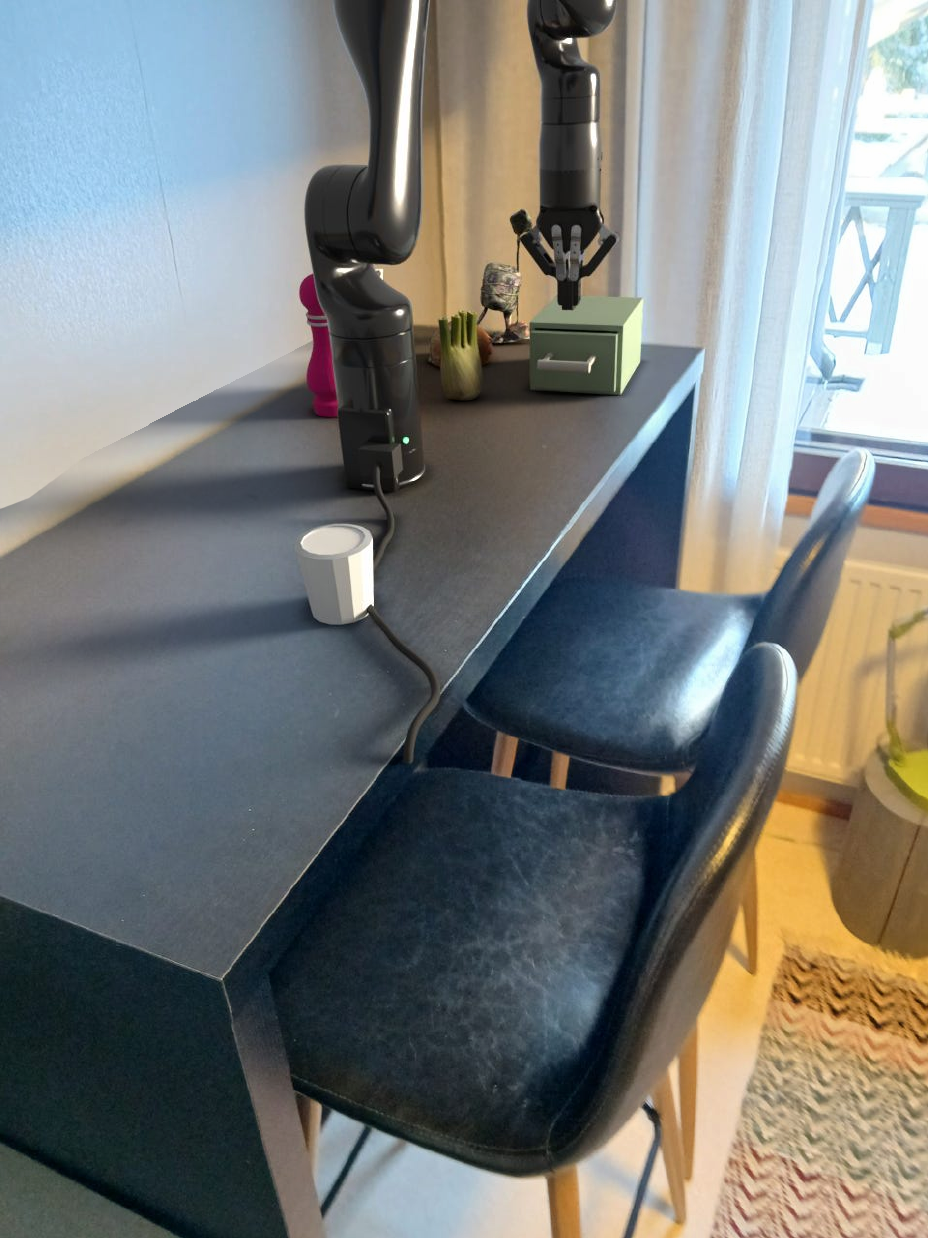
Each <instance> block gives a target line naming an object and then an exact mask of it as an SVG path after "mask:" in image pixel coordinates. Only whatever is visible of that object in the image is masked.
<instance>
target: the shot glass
mask: <svg viewBox="0 0 928 1238" xmlns="http://www.w3.org/2000/svg"><path fill="white" fill-rule="evenodd" d="M293 547H294V550H295V554H296V559H297V561H298V567H299V569H300V572H301V576H302V581H303V584H304V588H305V591H306V595H307V598H308V603H309V607H310V610H311V613H312V616H313V618H314V619H315V620H317V621H318V622H320V623H323V624H327V625H335V626H336V625H339V626H340V625H341V626H342V625H347V624H352V623H355V622H359V621H360V620H362V619H366V617H367V616H368V615H369V613H368V612H367V608H368V606H369V605H370V604H372V605H373V607H374V606H375V603H374V600H375V599H374V572H373V557H374V549H373V548H374V540H373V536H372V533H371V531H370V530H368V529H367V528H365V527H363V526H361V525H356V524H350V523H331V524H326V525H325V524H324V525H320V526H317V527H314V528H311V529H309V530H307V531H304V533H302V534H300V535H299V536H297V538H296V539H295V541H294V544H293Z"/></svg>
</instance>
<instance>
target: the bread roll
mask: <svg viewBox="0 0 928 1238" xmlns="http://www.w3.org/2000/svg"><path fill="white" fill-rule="evenodd" d="M448 327H449V335H450V341H451V320H450V321H448ZM493 343H494V342H493V339H492V336H490V335H489V334H488V333H487V332H486V331H485V330H484V328H482V327H481V326H480V325H477V345H478V350H479V354H480V359H481V366H484V365H486V364H488V363H490V362H491V360H492V357H493V354H494V348H493ZM429 351H430V354H429V358H428V362H429V363H431V364H433V365H434V366H436V367H439V368H441V343H440V331H439V328H438V329H437V330H436V331H435V332H434V333H433V336H432V338H431V339H430V347H429Z"/></svg>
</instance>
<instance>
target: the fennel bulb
mask: <svg viewBox="0 0 928 1238" xmlns="http://www.w3.org/2000/svg"><path fill="white" fill-rule="evenodd" d="M457 312H458V314H457V313H454V314H452V315H450V321H451V341H450V335H449V327H448V322H449V320H448V318H447V317H446V316H440V317H439V318H438V319H437V322H438V323H437V324H438V329H439V331H440V343H441V368H440V367H439V368H440V380H441V385H442V390H443V392H444V395H445V397H446V398H447V399H449V400H457V401H471V400H475V399H476V398H478V397H479V395H480V394H481V390H482V386H483V367H482V366H483V365H482V366H481V359H480V354H479V350H478V345H477V321H478V312H476V311H473V310H469V311H466V310H458V311H457Z"/></svg>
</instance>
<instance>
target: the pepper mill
mask: <svg viewBox="0 0 928 1238" xmlns="http://www.w3.org/2000/svg"><path fill="white" fill-rule="evenodd" d="M298 289H299V290H298V296H299V300H300V304H301V305H302V306H303V307H304V308H305V309H306V310H307V311H306V312H305V317H306V324H307V325H309V326H310V329H311V330H310V331H311V334H312V351H311V355H310V359H309V361H308V365H307V369H306V385H307V387H308V388H307V389H309V390H310V391H311V393H313V394H314V395H315V396H314V397H313V399H312V403H313V404H312V405H313V409H314V410H313V411H314V413H315V414H316V415H317V416H320V417H324V418H338V415H337V410H338V402H337V394H336V386H335V378H334V370H333V362H332V353H331V345H330V337H329V330H328V323H327V319H326V316H325V314H324V312H323V310H322V308H321V306H320V304H319V301H318V297H317V292H316V287H315V281H314V275H313V273H311V274H308V275H307V276H305V278H304V279H302V281H301V282H300V285H299V288H298Z"/></svg>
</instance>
